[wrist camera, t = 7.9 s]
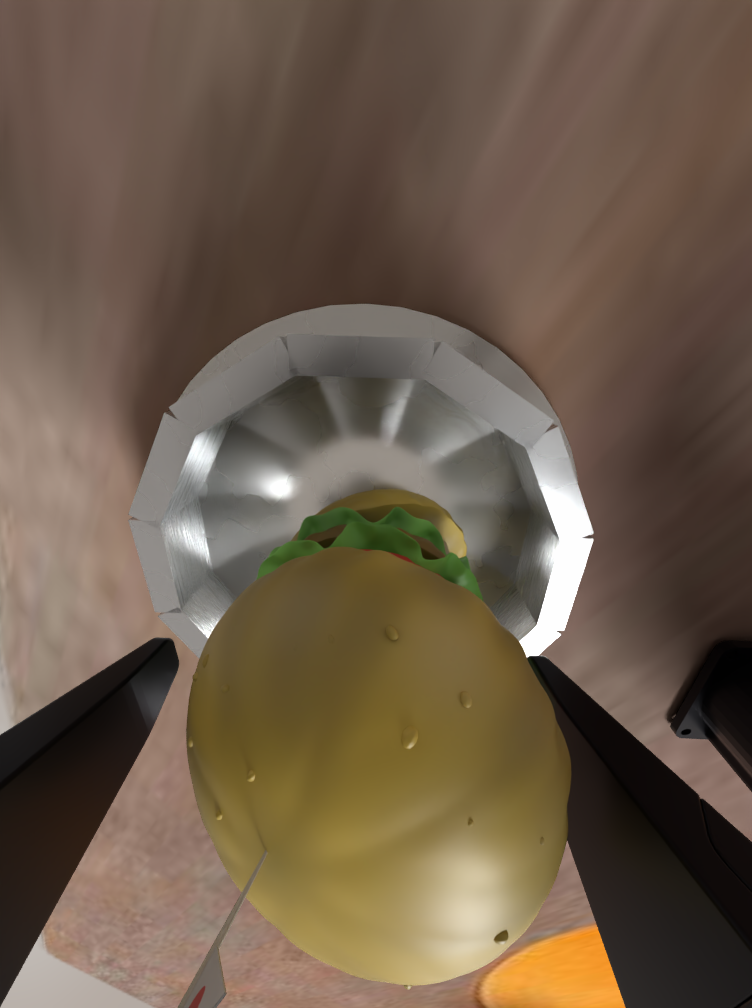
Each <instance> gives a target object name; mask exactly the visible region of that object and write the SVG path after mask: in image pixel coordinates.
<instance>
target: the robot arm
mask: <svg viewBox="0 0 752 1008" xmlns="http://www.w3.org/2000/svg"><path fill="white" fill-rule="evenodd" d="M527 660H528V662H529V664H530V666H531V668H532V670H533V672H534V673H535V675H536V677H537V679H538V681H539V682H540V684H541V686H542V687H543V689H544V690H545V692H546V693H547V695H548V697H549V699H550V701H551V703H552V705H553V708H554V712H555V717H556V721H557V723H558V725H559V727H560V729H561V731H562V734H563V736H564V738H565V741H566V744H567V747H568V751H569V755H570V759H571V785H570V792H569V798H568V803H567V813H568V836H567V841H568V844H569V847H570V849H571V852H572V855H573V858H574V861H575V864H576V867H577V870H578V872H579V875H580V878H581V881H582V884H583V887H584V890H585V892H586V895H587V898H588V901H589V904H590V907H591V910H592V912H593V915H594V918H595V921H596V924H597V927H598V930H599V933H600V935H601V938H602V941H603V944H604V947H605V950H606V953H607V955H608V958H609V961H610V964H611V967H612V970H613V973H614V975H615V978H616V981H617V984H618V987H619V990H620V993H621V996H622V998H623V1001H624V1004H625V1007H626V1008H752V842H751V841H750V840H749V839H748V838H747V837H745V836H744V835H743V834H742V833H741V832H740V831H739V830H738V829H736V828H735V827H734V826H733V825H732V824H731V823H730V822H728V821H727V820H726V819H725V818H724V817H723V816H722V815H721V814H720V813H718V812H717V811H716V810H715V809H714V808H713V807H712V806H711V805H710V804H708V803H707V802H706V801H705V800H704V799H700V797H699V795H698V794H697V793H696V792H695V791H694V790H693V789H692V788H691V787H689V786H688V785H687V784H686V783H685V782H684V781H683V780H682V779H681V778H679V777H678V776H677V775H676V774H675V773H674V772H673V771H672V770H671V769H670V768H668V767H667V766H666V765H665V764H664V763H663V762H662V761H661V760H660V759H658V758H657V757H656V756H655V755H654V754H653V753H652V752H651V751H650V750H649V749H647V748H646V747H645V746H644V745H643V744H642V743H641V742H640V741H639V740H637V739H636V738H635V737H634V736H633V735H632V734H631V733H630V732H629V731H627V730H626V729H625V728H624V727H623V726H622V725H621V724H620V723H619V722H618V721H616V720H615V719H614V718H613V717H612V716H611V715H610V714H609V713H608V712H606V711H605V710H604V709H603V708H602V707H601V706H600V705H599V704H598V703H596V702H595V701H594V700H593V699H592V698H591V697H590V696H589V695H588V694H587V693H585V692H584V691H583V690H582V689H581V688H580V687H579V686H578V685H577V684H575V683H574V682H573V681H572V680H571V679H570V678H569V677H568V676H567V675H566V674H564V673H563V672H562V671H561V670H560V669H559V668H558V667H557V666H556V665H554V664H553V663H552V662H551V661H550V660H549V659H548V658H546V657H544V656H534V655H530V656H528V657H527ZM178 667H179V659H178V656H177V652H176V648H175V645H174V642H173V640H172V639H170V638H153V639H151V640H150V641H148V642H147V643H145V644H143V645H142V646H140V647H139V648H137V649H135V650H134V651H132V652H131V653H129V654H128V655H126V656H124V657H123V658H121V659H120V660H118V661H116V662H115V663H113V664H112V665H110V666H109V667H107V668H105V669H104V670H102V671H101V672H99V673H97V674H96V675H94V676H93V677H91V678H90V679H88V680H86V681H85V682H83V683H82V684H80V685H78V686H77V687H75V688H74V689H72V690H71V691H69V692H67V693H66V694H64V695H63V696H61V697H60V698H58V699H56V700H55V701H53V702H52V703H50V704H48V705H47V706H45V707H44V708H42V709H41V710H39V711H37V712H36V713H34V714H33V715H31V716H29V717H28V718H26V719H25V720H23V721H22V722H20V723H18V724H17V725H15V726H14V727H12V728H10V729H9V730H7V731H6V732H4V733H3V734H1V735H0V1006H1V1004H2V1003H3V1001H4V999H5V997H6V995H7V994H8V992H9V990H10V988H11V986H12V984H13V983H14V981H15V979H16V977H17V975H18V974H19V972H20V970H21V968H22V966H23V964H24V963H25V960H26V958H27V957H28V955H29V954H30V952H31V950H32V948H33V946H34V944H35V943H36V941H37V939H38V937H39V935H40V934H41V932H42V930H43V928H44V926H45V924H46V923H47V921H48V919H49V917H50V915H51V913H52V912H53V910H54V908H55V906H56V904H57V903H58V901H59V899H60V897H61V895H62V893H63V892H64V890H65V888H66V886H67V884H68V882H69V881H70V879H71V877H72V875H73V873H74V872H75V870H76V868H77V866H78V864H79V862H80V861H81V859H82V857H83V855H84V853H85V851H86V850H87V848H88V846H89V844H90V842H91V841H92V839H93V837H94V835H95V833H96V831H97V830H98V828H99V826H100V824H101V822H102V821H103V819H104V817H105V815H106V813H107V811H108V810H109V808H110V806H111V804H112V802H113V800H114V799H115V797H116V795H117V793H118V791H119V790H120V788H121V786H122V784H123V782H124V780H125V779H126V777H127V775H128V773H129V771H130V769H131V768H132V766H133V764H134V762H135V760H136V759H137V757H138V755H139V753H140V751H141V749H142V748H143V746H144V744H145V742H146V740H147V738H148V736H149V734H150V732H151V730H152V728H153V726H154V724H155V721H156V719H157V717H158V715H159V712H160V710H161V708H162V705H163V703H164V701H165V699H166V696H167V694H168V692H169V689H170V687H171V685H172V683H173V680H174V678H175V676H176V673H177V671H178ZM670 727H671V729H672V730H673V732H674V733H675V734H676V736H678V737H679V738H691V739H708V740H709V741H710V742H711V743H712V744H713V746H714V747H715V748H716V749H717V750H718V752H719V753H720V754H721V755H722V757H723V758H724V759H725V760H726V761H727V763H728V764H729V765H730V766H731V767H732V769H733V770H734V771H735V772H736V773H737V775H738V776H739V777H740V778H741V780H742V781H743V782H744V783H745V784H746V786H747V787H748V788H749V789H750V790H751V792H752V642H750V641H724V642H721V643H719V644H718V645H716V647H715V648H714V649H713V651H712V653H711V655H710V656H709V658H708V660H707V662H706V663H705V665H704V667H703V669H702V670H701V672H700V674H699V676H698V677H697V679H696V681H695V683H694V684H693V686H692V688H691V690H690V691H689V693H688V695H687V697H686V698H685V700H684V702H683V704H682V705H681V707H680V709H679V711H678V712H677V714H676V716H675V718H674V719H673V721H672V723H671V725H670Z"/></svg>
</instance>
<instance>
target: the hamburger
mask: <svg viewBox="0 0 752 1008" xmlns="http://www.w3.org/2000/svg"><path fill="white" fill-rule="evenodd" d="M466 553H467V545H466V543H465V540H464V534H463V530H462V529H461V528H460V527H459V526H458V525H457V524H456V523H455V521H454V520H453V519H452V517H451V515H450V513H449V512H448V511H447V510H446V509H444V508H442V507H441V506H440V505H438V504H437V503H436V502H435V501H433V500H431V499H429V498H427V497H425V496H423V495H420V494H416V493H413V492H410V491H406V490H400V489H376V490H370V491H365V492H359V493H355V494H352V495H350V496H347V497H345V498H343V499H340V500H338V501H335V502H333V503H331V504H330V505H328V506H326V507H325V508H323V509H322V510H320V511H319V512H318V513H317V514H315V515H313V516H308V517H306V518H305V519H304V520H303V522H302V524H301V527H300V530H299V531H298V532H297V533H296V534H295V536H294V537H293V538H292V540H291V541H290V542H287V543H285V544H284V545H282V546H281V547H276V548H274V549H273V550H272V551H271V553H270V555H269V557H268V558H267V559H266V560H264V562H263V563H262V564H261V566H260V568H259V571H258V576H257V579H256V581H254V582H253V583H252V584H250V585H249V586H248V587H247V588H246V589H245V590H244V591H243V592H242V593H241V594H240V595H239V596H238V597H237V599H236V600H235V601H234V602H233V603H232V604H231V606H230V607H229V608H228V609H227V611H226V612H225V614H224V615H223V617H222V618H221V619H220V620H219V622H218V623H217V625H216V626H215V628H214V629H213V631H212V632H211V634H210V636H209V638H208V640H207V642H206V644H205V646H204V648H203V651H202V653H201V656H200V659H199V662H198V665H197V669H196V672H195V674H194V675H193V682H192V686H191V691H190V697H189V705H188V716H187V729H186V741H187V755H188V763H189V769H190V774H191V779H192V784H193V788H194V793H195V797H196V801H197V805H198V808H199V812H200V815H201V818H202V820H203V823H204V825H205V828H206V830H207V832H208V834H209V836H210V837H211V839H212V841H213V843H214V846H215V848H216V851H217V853H218V855H219V857H220V859H221V861H222V863H223V865H224V867H225V869H226V870H227V872H228V874H229V875H230V877H231V878H232V880H233V881H234V883H235V884H236V886H237V887H238V888H239V889H240V891H241V892H242V893H241V895H240V897H239V899H238V900H237V902H236V904H235V906H234V908H233V909H232V911H231V913H230V915H229V916H228V918H227V920H226V922H225V924H224V925H223V927H222V929H221V931H220V933H219V934H218V936H217V938H216V940H215V942H214V943H213V945H212V947H211V949H210V951H209V952H208V954H207V956H206V958H205V960H204V961H203V963H202V965H201V967H200V968H199V970H198V972H197V974H196V976H195V977H194V979H193V981H192V983H191V985H190V986H189V988H188V990H187V992H186V994H185V995H184V997H183V999H182V1001H181V1003H180V1004H179V1006H178V1008H216V1007H217V1006H218V1005H219V1003H220V1002H221V1001H222V999H223V998H224V997H225V995H226V988H225V983H224V977H223V972H222V967H221V961H220V956H219V948H220V946H221V945H222V943H223V941H224V939H225V937H226V935H227V933H228V931H229V929H230V927H231V925H232V923H233V921H234V919H235V917H236V915H237V913H238V911H239V909H240V907H241V905H242V903H243V901H244V899H245V897H246V898H247V899H248V900H249V901H250V902H251V904H252V905H253V906H254V907H255V908H256V909H257V910H258V912H259V913H260V914H261V915H262V916H263V917H264V918H266V919H267V920H268V921H269V922H270V923H272V924H273V925H274V926H276V927H277V928H278V929H279V930H280V932H281V933H282V934H283V935H284V936H285V937H286V938H287V939H288V940H289V941H291V942H292V943H293V944H294V945H296V946H297V947H298V948H300V949H301V950H303V951H304V952H306V953H307V954H309V955H311V956H312V957H314V958H316V959H318V960H320V961H322V962H324V963H326V964H329V965H331V966H333V967H335V968H337V969H339V970H342V971H344V972H346V973H348V974H351V975H353V976H356V977H360V978H363V979H367V980H373V981H379V982H388V983H393V984H399V985H404V987H405V988H406V989H410V988H411V987H412V985H426V984H433V983H439V982H443V981H447V980H450V979H453V978H455V977H458V976H461V975H464V974H467V973H470V972H473V971H475V970H477V969H479V968H481V967H483V966H485V965H487V964H488V963H490V962H491V961H493V960H494V959H496V958H497V957H498V956H500V955H501V954H502V953H503V952H504V951H505V950H506V949H507V948H508V947H509V946H510V945H511V944H512V943H514V942H515V941H516V940H517V939H518V938H519V937H520V936H521V935H522V934H523V933H524V932H525V931H526V930H527V929H528V927H529V926H530V925H531V923H532V922H533V920H534V919H535V917H536V916H537V914H538V912H539V910H540V908H541V906H542V905H543V903H544V901H545V900H546V898H547V896H548V894H549V893H550V891H551V888H552V886H553V884H554V881H555V879H556V876H557V873H558V870H559V867H560V864H561V860H562V857H563V853H564V850H565V846H566V842H567V836H568V813H567V803H568V798H569V792H570V785H571V759H570V755H569V751H568V747H567V744H566V741H565V738H564V736H563V734H562V731H561V729H560V727H559V725H558V723H557V721H556V717H555V712H554V708H553V705H552V703H551V701H550V699H549V697H548V695H547V693H546V692H545V690H544V689H543V687H542V686H541V684H540V682H539V681H538V679H537V677H536V675H535V673H534V672H533V670H532V668H531V666H530V664H529V662H528V660H527V656H526V653H525V650H524V648H523V646H522V644H521V643H520V642H519V640H518V639H517V638H516V637H515V636H514V635H513V634H512V633H511V632H510V631H509V630H507V629H506V628H505V627H503V626H502V625H501V624H500V623H499V621H498V620H497V618H496V617H495V615H494V614H493V612H492V611H491V610H490V608H489V607H488V606H487V605H486V604H485V603H484V602H483V597H482V595H481V592H480V590H479V586H478V583H477V580H476V578H475V576H474V574H473V573H472V572H471V569H470V565H469V561H468V558H467V556H466Z"/></svg>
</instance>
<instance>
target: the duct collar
mask: <svg viewBox="0 0 752 1008" xmlns="http://www.w3.org/2000/svg"><path fill="white" fill-rule="evenodd" d="M169 409H170V410H171V411H168V412H164V415H163V418H162V420H161V423H160V426H159V429H158V432H157V435H156V438H155V440H154V443H153V446H152V449H151V452H150V455H149V457H148V460H147V463H146V466H145V469H144V472H143V474H142V477H141V480H140V483H139V486H138V489H137V491H136V494H135V497H134V500H133V503H132V506H131V509H130V511H129V514H128V515H130V516H132V518H131V519H129V520H128V521H129V524H130V527H131V531H132V534H133V538H134V541H135V545H136V548H137V551H138V555H139V558H140V562H141V565H142V569H143V572H144V576H145V579H146V582H147V586H148V589H149V593H150V596H151V600H152V603H153V606H154V610H155V612H161V613H160V615H159V616H158V617H159V618H160V619H161V620H162V621H163V622H164V623H165V624H166V625H167V626H168V627H169V628H170V629H171V630H172V631H173V632H174V633H175V634H176V635H177V636H178V637H179V638H180V639H181V640H182V641H183V642H184V643H185V644H186V645H187V646H188V648H189V649H190V650H191V651H192V652H193V653H194V654H195V655H196V656H197V657H198V658H199V659H200V656H201V653H202V651H203V648H204V646H205V644H206V642H207V640H208V638H209V636H210V634H211V632H212V631H213V629H214V628H215V626H216V625H217V623H218V622H219V620H220V619H221V618H222V617H223V615H224V614H225V612H226V611H227V609H228V608H229V607H230V606H231V604H232V603H233V602H234V601H235V600H236V599H237V597H238V596H239V595H240V594H241V593H242V592H243V591H244V590H245V589H246V588H247V587H248V586H249V585H250V584H252V583H253V582H254V581H256V579H257V576H258V571H259V568H260V566H261V564H262V563H263V562H264V560H266V559H267V558H268V557H269V555H270V553H271V551H272V550H273V549H274V548H276V547H281V546H282V545H284V544H285V543H287V542H290V541H291V540H292V538H293V537H294V536H295V534H296V533H297V532H298V531H299V530H300V527H301V524H302V522H303V520H304V519H305V518H306V517H308V516H313V515H315V514H317V513H318V512H319V511H320V510H322V509H323V508H325V507H326V506H328V505H330V504H331V503H333V502H335V501H338V500H340V499H343V498H345V497H347V496H350V495H352V494H355V493H359V492H365V491H370V490H376V489H400V490H406V491H410V492H413V493H416V494H420V495H423V496H425V497H427V498H429V499H431V500H433V501H435V502H436V503H437V504H438V505H440V506H441V507H442V508H444V509H446V510H447V511H448V512H449V513H450V515H451V517H452V519H453V520H454V521H455V523H456V524H457V525H458V526H459V527H460V528H461V529H462V530H463V534H464V540H465V543H466V545H467V553H466V556H467V558H468V561H469V565H470V569H471V572H472V573H473V574H474V576H475V578H476V580H477V583H478V586H479V590H480V592H481V595H482V597H483V602H484V603H485V604H486V605H487V606H488V607H489V608H490V610H491V611H492V612H493V614H494V615H495V617H496V618H497V620H498V621H499V623H500V624H501V625H502V626H503V627H505V628H506V629H507V630H509V631H510V632H511V633H512V634H513V635H514V636H515V637H516V638H517V639H518V640H519V642H520V643H521V644H522V646H523V648H524V650H525V653H526V656H527V657H528V656H530V655H534V656H537V655H539V654H540V653H541V652H542V651H543V650H544V649H545V648H546V647H548V646H549V645H550V644H551V643H552V642H553V641H554V640H555V639H557V638H558V637H559V636H560V635H561V634H560V632H559V630H564V629H565V626H566V623H567V619H568V616H569V613H570V610H571V607H572V604H573V601H574V598H575V595H576V592H577V589H578V586H579V583H580V580H581V576H582V573H583V570H584V567H585V564H586V561H587V558H588V555H589V552H590V549H591V546H592V543H593V540H594V539H593V538H592V537H591V536H590V534H593V533H594V532H593V529H592V526H591V523H590V520H589V517H588V514H587V511H586V508H585V505H584V502H583V499H582V496H581V493H580V490H579V487H578V482H577V472H576V468H575V464H574V460H573V456H572V451H571V447H570V445H569V442H568V440H567V437H566V435H565V432H564V430H563V428H562V425H561V423H560V420H559V419H558V417H557V415H556V414H555V412H554V410H553V409H552V407H551V405H550V404H549V402H548V401H547V399H546V397H545V396H544V394H543V393H542V392H541V390H540V389H539V388H538V387H537V386H536V385H535V383H534V382H533V381H532V380H531V379H530V378H529V376H528V375H527V374H526V373H525V372H524V371H523V369H521V368H520V367H519V366H518V365H517V364H516V363H514V362H513V361H512V360H511V359H510V358H509V357H507V356H506V355H505V354H504V353H503V352H502V351H500V350H499V349H498V348H497V347H495V346H493V345H492V344H490V343H489V342H487V341H485V340H484V339H482V338H481V337H479V336H477V335H476V334H474V333H473V332H471V331H469V330H467V329H465V328H463V327H460V326H458V325H456V324H453V323H451V322H449V321H446V320H444V319H442V318H439V317H437V316H433V315H430V314H426V313H422V312H418V311H414V310H410V309H407V308H403V307H394V306H385V305H375V304H347V305H330V306H325V307H320V308H315V309H310V310H305V311H300V312H296V313H293V314H290V315H287V316H285V317H282V318H279V319H276V320H274V321H271V322H268V323H265V324H263V325H262V326H260V327H258V328H256V329H254V330H253V331H251V332H249V333H247V334H245V335H244V336H242V337H240V338H238V339H236V340H235V341H234V342H232V343H231V344H230V345H229V346H227V347H226V348H225V349H223V350H222V351H221V352H220V353H218V354H217V355H216V356H215V357H213V358H212V359H211V360H210V361H209V362H208V363H207V364H206V365H205V366H204V367H203V368H202V369H201V371H200V372H199V373H198V374H197V375H196V376H195V377H194V378H193V379H192V380H191V381H190V383H189V384H188V386H187V387H186V389H185V390H184V392H183V393H182V395H181V396H180V398H179V399H178V401H177V402H176V403H174V404H173V405H171V406H170V407H169Z"/></svg>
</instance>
